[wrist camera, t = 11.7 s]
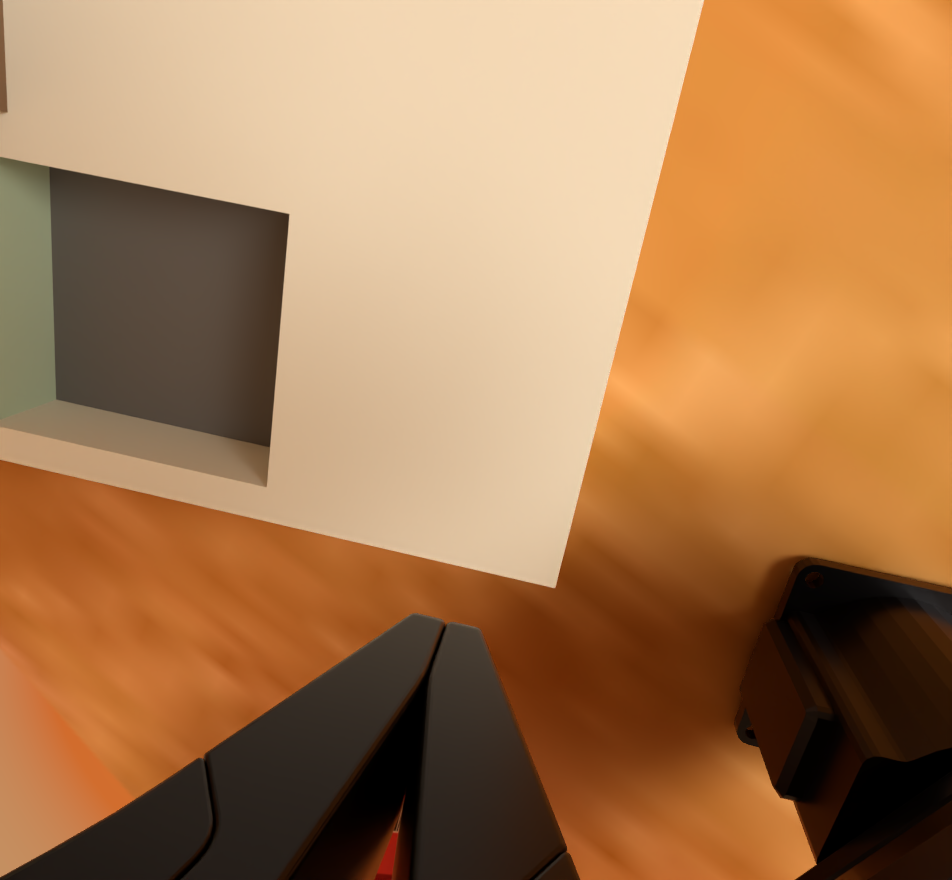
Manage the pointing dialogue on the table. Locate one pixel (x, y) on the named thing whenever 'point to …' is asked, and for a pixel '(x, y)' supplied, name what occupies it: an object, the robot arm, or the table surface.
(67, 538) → the table surface
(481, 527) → the trap deck
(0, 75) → the walnut block
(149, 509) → the table surface
